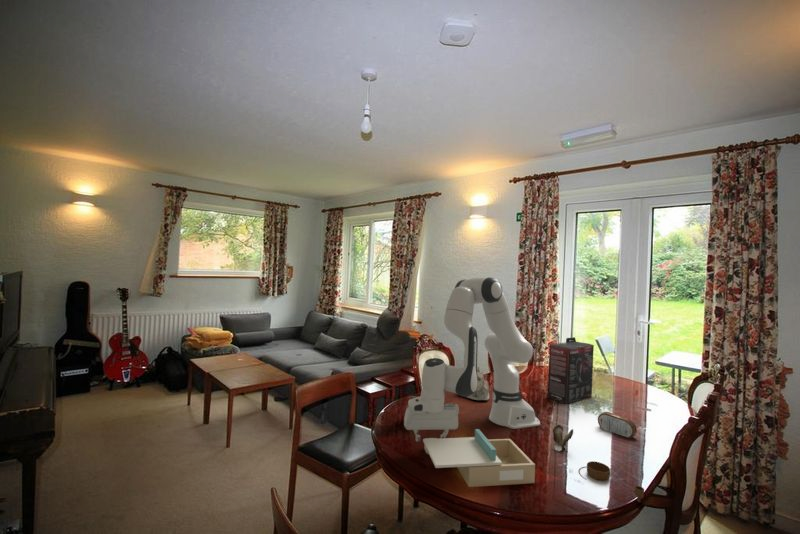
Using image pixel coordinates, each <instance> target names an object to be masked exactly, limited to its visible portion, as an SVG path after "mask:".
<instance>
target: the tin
mask: <svg viewBox="0 0 800 534" xmlns="http://www.w3.org/2000/svg"><path fill="white" fill-rule="evenodd" d="M597 424H598V426H599V427H600V429H601V430H605V431H607V432H611V433H613V434H616V435H620V436H621V437H626V438H628V439H632V438H634V437H636V435H637V432H638V431H637V430H638V429H637V427H636V425H635V423H634V422H633V421H632V420H631V419H629V418H628V417H625V416H622V415H618V414H615V413H613V412H611V411H603V412H601V413H600V414H599V415H598V417H597Z"/></svg>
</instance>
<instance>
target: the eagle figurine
mask: <svg viewBox="0 0 800 534" xmlns="http://www.w3.org/2000/svg"><path fill="white" fill-rule="evenodd" d="M563 431H564V427H563V426H562V425H561V424H558V425H555V426H554V427H553V429H552V432H553V433H552V434H553V438H552V440H553V441H554V442H555V443H556V445H554V447H553V448H554V450H555V451H556V452H563V451H564V452H567V453H568V450H567V449H566V447H565V446H566V445H567V442H568V441H570V440H571V439H572V437H573V435H574V429H573V428H571V430H570V431H569V432H568V433H567V434H565V436H564V437H563Z"/></svg>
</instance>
